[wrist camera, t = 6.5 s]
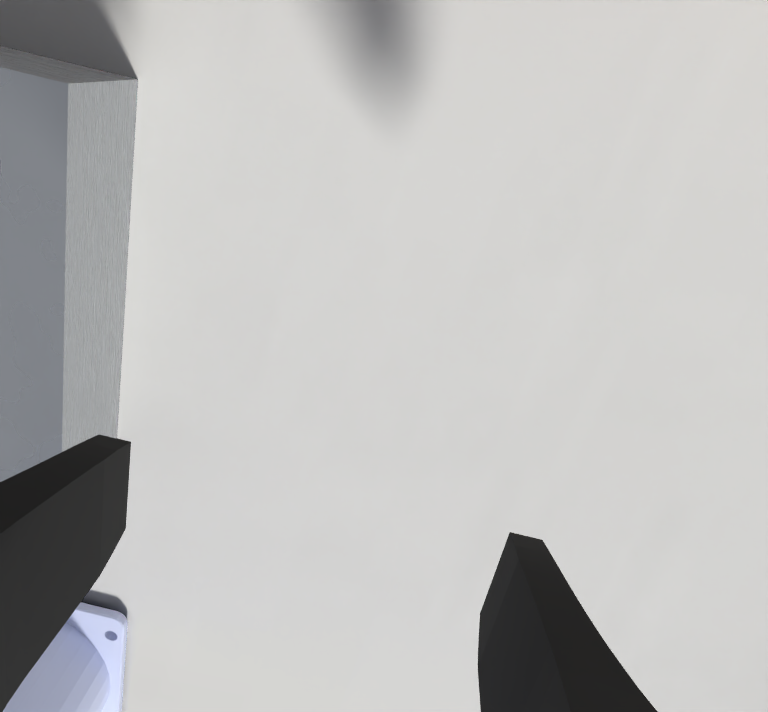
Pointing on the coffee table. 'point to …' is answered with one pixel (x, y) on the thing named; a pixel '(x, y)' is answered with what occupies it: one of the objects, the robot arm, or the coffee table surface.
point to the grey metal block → (61, 253)
